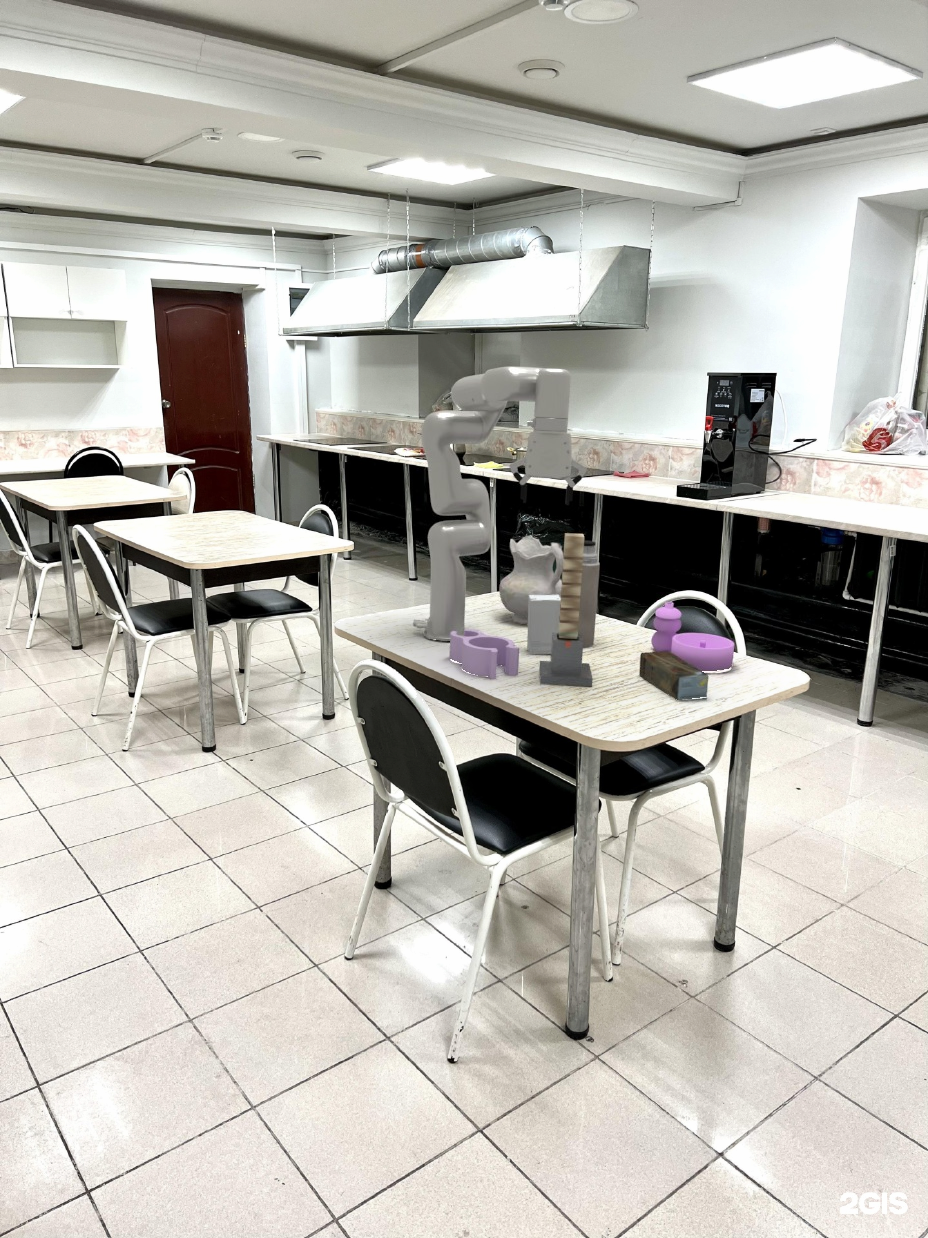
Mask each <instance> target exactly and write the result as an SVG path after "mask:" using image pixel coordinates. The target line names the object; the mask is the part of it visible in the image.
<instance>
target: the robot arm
mask: <svg viewBox="0 0 928 1238" xmlns="http://www.w3.org/2000/svg"><path fill="white" fill-rule="evenodd" d="M571 378H572V377H571V372H570V371H569V370H567V369H564V368H549V367H548V368H544V367H531V366H502V367H500V366H499V367H496V368H491V369H490V368H489V369H488V370H486V371H485V373H481V374H474V375H469V376H464V377H461V378H460V379H458V380H457V381H455V383H454V384H453V385H452V388H451V390H450V397H451V401H452V402H453V404H454V406H455V407H457V408H458V409H459V410H437V411H433V412H431V413H430V414H428V415H426V417H425V418H424V421H423V422H422V426H421V435H420V436H421V443H422V449H423V452H424V454H425V458H426V462H427V471H428V473H427V474H428V483H429V495H430V503H431V508H432V511H433V512H434V513H435V514H436V515H439V516H464V515H465V517H466V519H461V520H460V519H455V520H453V519H452V520H443V521H439V522H435V523H434V524H433V525H432V526H431V527H430V528H429V530H428V534H427V543H428V549H429V555H430V556H429V557H430V593H429V594H430V597H429V617H428V618H425V619H424V620H421V619H413V624H412V626H413V627H414V628H415V627H416V629H424V630H423V634H424V635H423V637H424V636H426V637H427V638H426V637H425V638H426V639H428V638H430V639H436V640H441V641H440V642H442V641H450V634H451V632H452V631H457V635H459V636H464V629H465V620H466V619H465V618H466V617H465V615H466V614H465V613H466V589H467V588H466V587H467V571H466V568H465V566H464V564H463V563H462V561H461V559H460V557H464V556H476V555H481V554H485V553H486V552H488V551H489V549H490V547H491V544H492V537H493V536H492V523H491V521H492V519H491V510H490V509H491V508H490V507H491V505H490V498H489V493H488V490H487V487H486V485H485V484H484V483H483V482H482V481H481V480H479V479H475V478H462V475H461V474H462V472H461V462H460V460H459V457H458V455H457V454H456V452H455V451H454V450H453V448H452V447H451V446H450V445H479V444H483V443H484V442H486V441H487V440H488V438H489V437H490V436H491V434H492V432H493V431H494V429H495V427H496V425H497V423H498V422H499V420H500V418H501V417H502V415H503V412H504V411H505V409H506V407H507V403H508V402H529V403H530V402H532V403H534V411H533V412H534V413H533V416H534V417H533V418H532V419H527V423H526V424H527V427H530V428H531V427H532V428H533V429H532V431H530V432H529V434H528V440H527V445H526V453H525V457H523V458H521V459H518V460H516V461H514V462H512V463H509V466H508V468H509V469H510V471H511V473H512V475H513V478H514V479H515V480H516V481H517V482H518V483H519V484H520V496H519V497H520V500H523V501H522V502H523V504H526V503H527V498H528V497H527V496H528V484H527V483H528V481H530V479H531V478H537V479H556V480H557V479H559V480H560V479H561V480H563V479H564V480H565V482H566V484H567V486H566V488H565V501H564V502H565V505H567V506H569V505H570V502H572V501H573V495H574V493H573V492H574V487H575V486H576V485H577V484H579V482H581V481H582V479H583V478H584V475H585V474H586V472H588V468H587V466H585V465H583V464H581V463H579V462H578V461H576V460H574V459H573V457H572V456H573V455H572V454H573V453H572V452H573V451H572V449H573V448H572V447H573V446H572V445H573V444H572V435H571V433H570V432H568V428H569V427H568V423H569V411H570V410H569V408H570V395H571V393H570V392H571ZM523 465H524V467H525V469H524V472H525V474H524V475H521V474H520V472H519V471H518V467H520V466H523ZM572 467H573V468H575V469H577V470H578V473H577V475H575V477H573V478H572V477H571V474H572ZM430 639H429V640H430Z"/></svg>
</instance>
